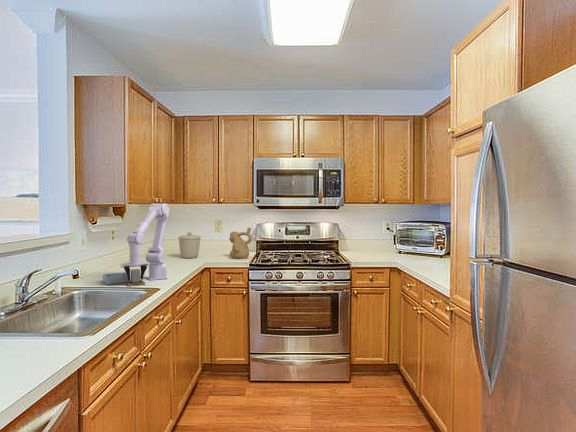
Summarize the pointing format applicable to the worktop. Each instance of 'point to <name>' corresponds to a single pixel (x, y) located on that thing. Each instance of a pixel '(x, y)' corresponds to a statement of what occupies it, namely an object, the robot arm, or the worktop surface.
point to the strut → (135, 276)
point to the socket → (135, 283)
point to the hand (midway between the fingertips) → (135, 279)
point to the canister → (189, 245)
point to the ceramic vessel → (240, 244)
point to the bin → (115, 278)
